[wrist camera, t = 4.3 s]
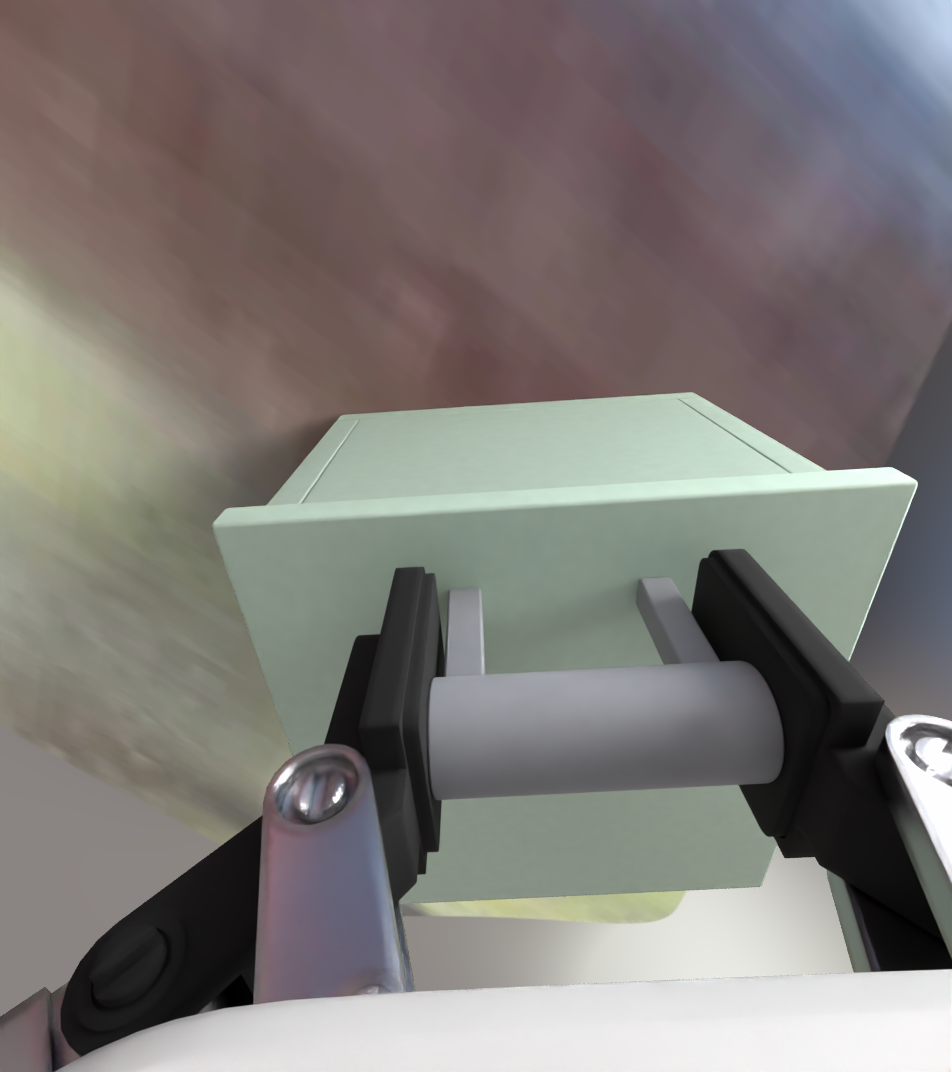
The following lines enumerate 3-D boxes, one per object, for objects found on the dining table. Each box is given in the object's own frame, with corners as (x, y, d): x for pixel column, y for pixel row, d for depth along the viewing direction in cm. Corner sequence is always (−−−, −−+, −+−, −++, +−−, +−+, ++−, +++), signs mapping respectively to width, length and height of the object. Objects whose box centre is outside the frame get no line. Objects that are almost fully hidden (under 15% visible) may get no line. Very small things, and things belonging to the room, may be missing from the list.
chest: (340, 414, 21) (245, 527, 12) (693, 391, 20) (861, 490, 12) (388, 680, 27) (350, 881, 18) (658, 665, 27) (750, 861, 18)
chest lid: (225, 506, 11) (55, 695, 6) (892, 465, 11) (1200, 632, 6) (350, 882, 18) (311, 1094, 14) (750, 862, 18) (845, 1072, 14)
